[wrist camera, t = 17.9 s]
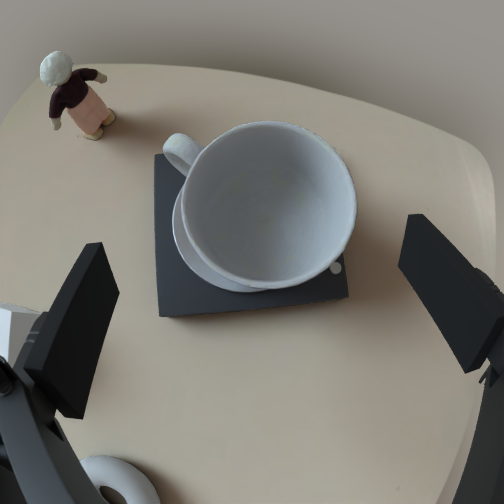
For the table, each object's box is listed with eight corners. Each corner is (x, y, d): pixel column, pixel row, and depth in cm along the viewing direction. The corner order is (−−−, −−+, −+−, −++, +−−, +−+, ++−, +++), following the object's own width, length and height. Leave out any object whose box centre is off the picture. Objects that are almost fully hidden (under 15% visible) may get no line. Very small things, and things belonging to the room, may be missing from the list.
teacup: (353, 232, 27) (390, 199, 19) (263, 325, 25) (271, 328, 17) (238, 128, 29) (236, 71, 21) (148, 206, 27) (115, 166, 19)
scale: (316, 151, 32) (321, 138, 29) (340, 299, 29) (349, 297, 26) (160, 166, 32) (153, 153, 29) (166, 317, 28) (158, 316, 26)
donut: (125, 534, 23) (184, 503, 24) (115, 550, 20) (177, 520, 21) (62, 472, 25) (113, 434, 26) (47, 484, 21) (99, 445, 22)
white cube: (42, 369, 27) (7, 375, 21) (4, 354, 27) (-30, 357, 21) (46, 314, 28) (11, 311, 22) (8, 303, 28) (-27, 298, 22)
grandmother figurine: (102, 100, 33) (62, 29, 21) (126, 105, 33) (88, 30, 21) (68, 151, 32) (11, 89, 20) (91, 160, 32) (34, 94, 19)
